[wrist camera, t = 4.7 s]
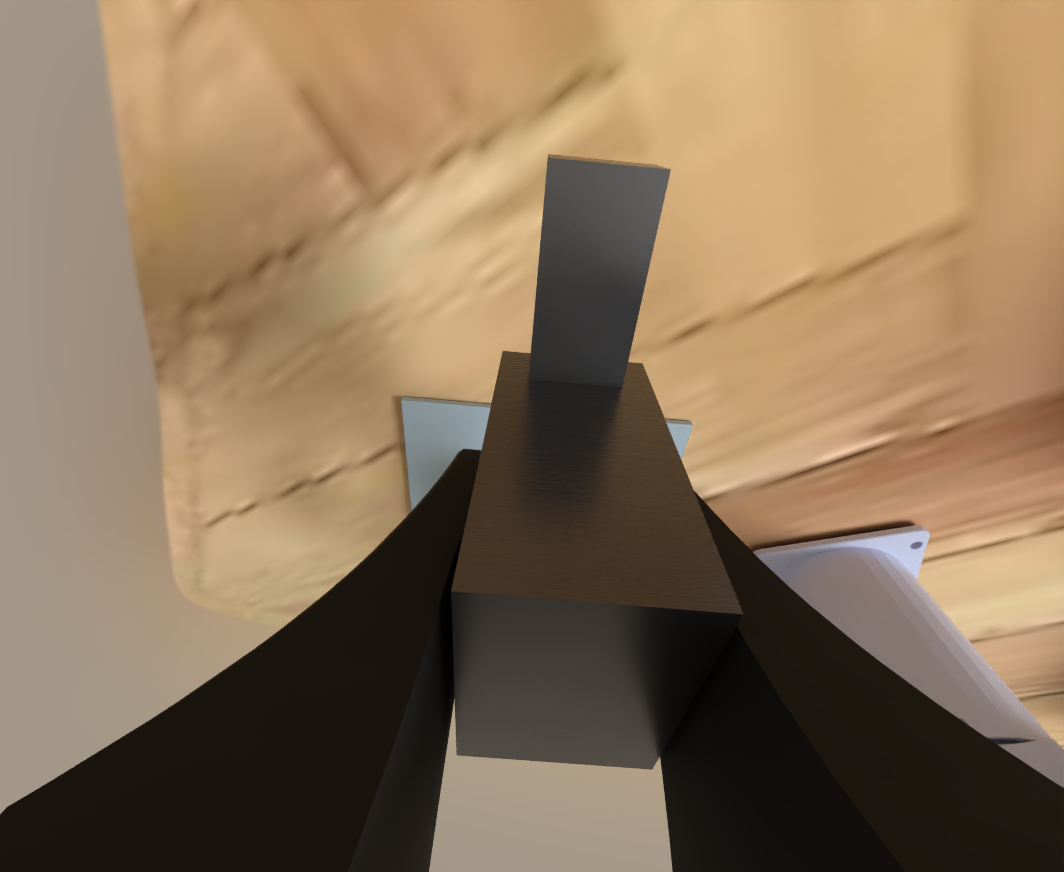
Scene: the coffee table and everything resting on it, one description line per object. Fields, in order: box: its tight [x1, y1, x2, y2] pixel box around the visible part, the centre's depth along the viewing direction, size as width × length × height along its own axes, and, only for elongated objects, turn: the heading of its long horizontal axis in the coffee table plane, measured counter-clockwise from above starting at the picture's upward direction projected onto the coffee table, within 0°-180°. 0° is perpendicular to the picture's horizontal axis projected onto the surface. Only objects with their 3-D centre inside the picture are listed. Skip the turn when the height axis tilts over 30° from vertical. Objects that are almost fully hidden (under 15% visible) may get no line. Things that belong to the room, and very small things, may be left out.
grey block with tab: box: [451, 154, 743, 769], centre depth 9 cm, size 16×7×6 cm, turn 175°
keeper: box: [401, 397, 693, 511], centre depth 19 cm, size 7×12×4 cm, turn 85°
